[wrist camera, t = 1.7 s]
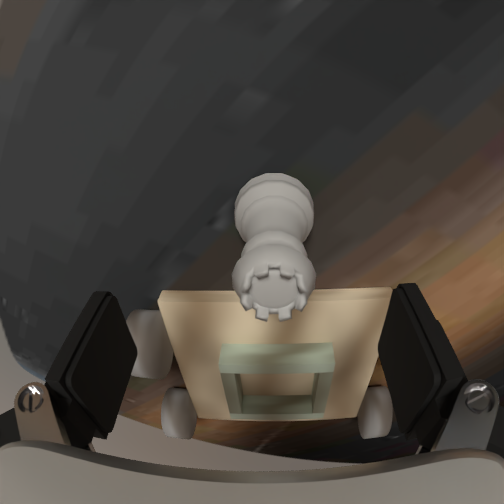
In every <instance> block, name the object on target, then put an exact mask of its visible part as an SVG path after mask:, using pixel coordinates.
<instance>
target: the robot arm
mask: <svg viewBox="0 0 504 504" xmlns="http://www.w3.org/2000/svg"><path fill="white" fill-rule="evenodd" d="M137 354H138V352H137V347H136V345H135V342H134V340H133V338H132V335H131V333H130V331H129V328H128V326H127V323H126V321H125V318H124V316H123V313H122V311H121V308H120V306H119V303H118V301H117V298H116V297H115V296H113V295H112V293H111V292H100V291H96V292H94V293H93V294H92V296H91V297H90V299H89V301H88V302H87V304H86V305H85V307H84V309H83V310H82V312H81V314H80V316H79V317H78V319H77V321H76V322H75V324H74V326H73V328H72V329H71V331H70V333H69V335H68V336H67V338H66V340H65V342H64V344H63V345H62V347H61V349H60V351H59V353H58V355H57V356H56V358H55V360H54V362H53V364H52V366H51V368H50V370H49V372H48V374H47V376H46V378H45V380H46V383H45V385H43V384H42V383H39V382H31V383H28V384H26V385H25V386H23V387H22V388H21V389H20V390H19V391H18V393H17V395H16V397H15V400H14V408H12V409H11V410H9V411H7V412H5V413H3V414H1V415H0V504H504V408H503V407H501V406H499V398H498V394H497V392H496V390H495V389H494V387H493V386H492V385H491V384H489V383H487V382H486V381H483V380H479V379H475V380H470V381H468V380H467V378H466V376H465V373H464V371H463V369H462V367H461V365H460V362H459V360H458V358H457V356H456V354H455V352H454V350H453V348H452V346H451V344H450V342H449V340H448V338H447V336H446V334H445V332H444V330H443V328H442V326H441V324H440V323H439V321H438V320H436V319H435V317H434V315H433V313H432V311H431V310H430V308H429V306H428V304H427V302H426V300H425V299H424V297H423V295H422V293H421V291H420V290H419V288H418V286H417V285H416V283H405V284H399V285H398V286H397V288H396V289H393V291H392V294H391V298H390V302H389V306H388V310H387V314H386V317H385V321H384V325H383V328H382V332H381V335H380V339H379V342H378V354H379V358H380V361H381V364H382V368H383V371H384V374H385V378H386V381H387V385H388V388H389V392H390V396H391V399H392V403H393V407H394V411H395V415H396V418H397V422H398V426H399V430H400V432H401V433H405V437H406V440H410V439H414V438H418V442H419V445H420V447H419V449H418V451H417V452H416V454H415V455H412V456H407V457H402V458H397V459H391V460H386V461H380V462H373V463H366V464H360V465H353V466H345V467H337V468H326V469H315V470H300V471H276V472H275V471H269V472H251V471H250V472H249V471H220V470H206V469H194V468H185V467H175V466H167V465H160V464H153V463H147V462H141V461H136V460H130V459H125V458H120V457H115V456H111V455H106V454H101V453H97V452H95V449H94V447H93V445H92V438H93V437H97V438H101V439H107V436H108V433H110V432H112V430H113V428H114V424H115V421H116V418H117V415H118V412H119V409H120V406H121V403H122V400H123V397H124V394H125V391H126V388H127V385H128V382H129V379H130V376H131V373H132V370H133V367H134V364H135V361H136V359H137Z"/></svg>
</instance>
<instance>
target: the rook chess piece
mask: <svg viewBox="0 0 504 504" xmlns="http://www.w3.org/2000/svg"><path fill="white" fill-rule="evenodd" d="M313 208H314V203H313V201H312V198H311V196H310V193H309V191H308V189H307V188H306V187H305V186H304V185H303V184H302V183H300V182H299V181H298V180H297V179H295V178H293V177H290V176H288V175H285V174H283V173H266V174H263V175H261V176H258V177H256V178H253V179H251V180H250V181H249V182H248V183H247V184H246V185H245V186H244V187H243V188H242V189H241V190H240V192H239V194H238V197H237V199H236V202H235V210H234V213H235V225H236V228H237V230H238V231H239V233H240V235H241V237H242V239H243V240H244V241H245V242H246V244H245V247H244V249H243V251H242V253H241V258H240V259H239V260H238V261H237V263H236V266H235V268H234V270H233V273H232V283H233V288H234V290H235V292H236V293H237V295H238V297H239V298H240V303H241V305H242V306H243V308H244V310H245V311H247V310H250V309H252V308H253V309H254V310H256V313H255V318H256V319H259V320H262V321H265V322H267V320H268V317H269V314H279V321H280V322H282V321H286V320H289V319H292V310H294V309H297V310H299V311H301V312H302V311H303V309H304V308H305V306H306V304H307V300H308V298H309V297H310V295H311V294H312V292H313V290H314V289H315V283H316V273H315V270H314V268H313V265H312V263H311V261H310V260H309V259H307V253H306V250H305V248H304V245H303V244H302V243H303V242H304V241H305V240H306V238H307V237H308V235H309V233H310V231H311V229H312V227H313V222H314V209H313Z"/></svg>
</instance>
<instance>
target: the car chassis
mask: <svg viewBox="0 0 504 504" xmlns="http://www.w3.org/2000/svg"><path fill="white" fill-rule="evenodd" d="M391 294H392V289H391V287H376V288H351V289H320V290H313V292H312V294H311V295H310V297H309V298H308V300H307V304H306V306H305V308H304V309H303V311H302V312H301V311H299V310H297V309H294V310H292V319H289V320H286V321H282V322H280V321H279V314H269V317H268V320H267V322H265V321H262V320H259V319H256V318H255V313H256V310H254V309H253V308H252V309H250V310H247V311H245V310H244V308H243V306H242V305H241V303H240V298H239V297H238V295H237V293H236V292H235V291H166V290H162V292H161V294H160V297H159V299H158V305H159V308H160V310H143V309H136V310H134V311H132V312H131V313H130V315H129V316H128V318H127V320H126V323H127V326H128V328H129V331H130V333H131V335H132V338H133V340H134V342H135V345H136V347H137V352H138V354H137V359H136V361H135V364H134V367H133V370H132V373H131V375H133V376H136V377H144V378H153V379H164V378H165V377H166V376H167V375H168V373H169V371H170V368H171V364H172V359H173V352H174V354H175V357H176V360H177V362H178V365H179V368H180V371H181V374H182V376H183V379H184V382H185V384H186V387H187V389H182V388H169V389H168V390H167V391H166V393H165V395H164V398H163V402H162V409H161V422H162V428H163V431H164V433H165V435H166V436H167V437H173V438H181V439H191V438H192V436H193V434H194V431H195V427H196V421H197V415H198V418H205V419H220V420H240V421H305V420H325V419H339V418H351V417H356V416H357V413H358V426H359V431H360V434H361V436H362V438H363V439H367V438H375V437H382V436H386V435H387V434H388V433H389V431H390V428H391V424H392V401H391V396H390V393H389V390H388V389H387V387H386V386H377V387H368V384H369V382H370V379H371V376H372V373H373V370H374V367H375V364H376V361H377V358H378V355H379V354H378V342H379V339H380V335H381V332H382V328H383V325H384V321H385V317H386V314H387V310H388V306H389V302H390V298H391Z"/></svg>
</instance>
